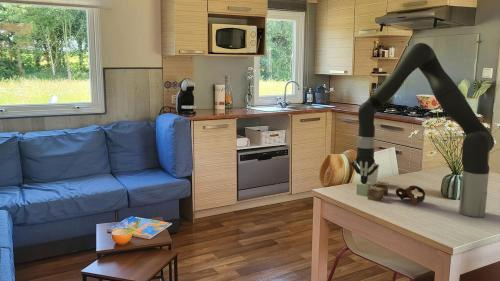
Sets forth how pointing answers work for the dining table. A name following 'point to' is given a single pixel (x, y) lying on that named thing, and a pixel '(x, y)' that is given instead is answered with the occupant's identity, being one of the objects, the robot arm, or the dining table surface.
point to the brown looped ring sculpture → (411, 194)
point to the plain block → (363, 188)
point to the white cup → (373, 176)
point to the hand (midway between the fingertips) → (363, 183)
